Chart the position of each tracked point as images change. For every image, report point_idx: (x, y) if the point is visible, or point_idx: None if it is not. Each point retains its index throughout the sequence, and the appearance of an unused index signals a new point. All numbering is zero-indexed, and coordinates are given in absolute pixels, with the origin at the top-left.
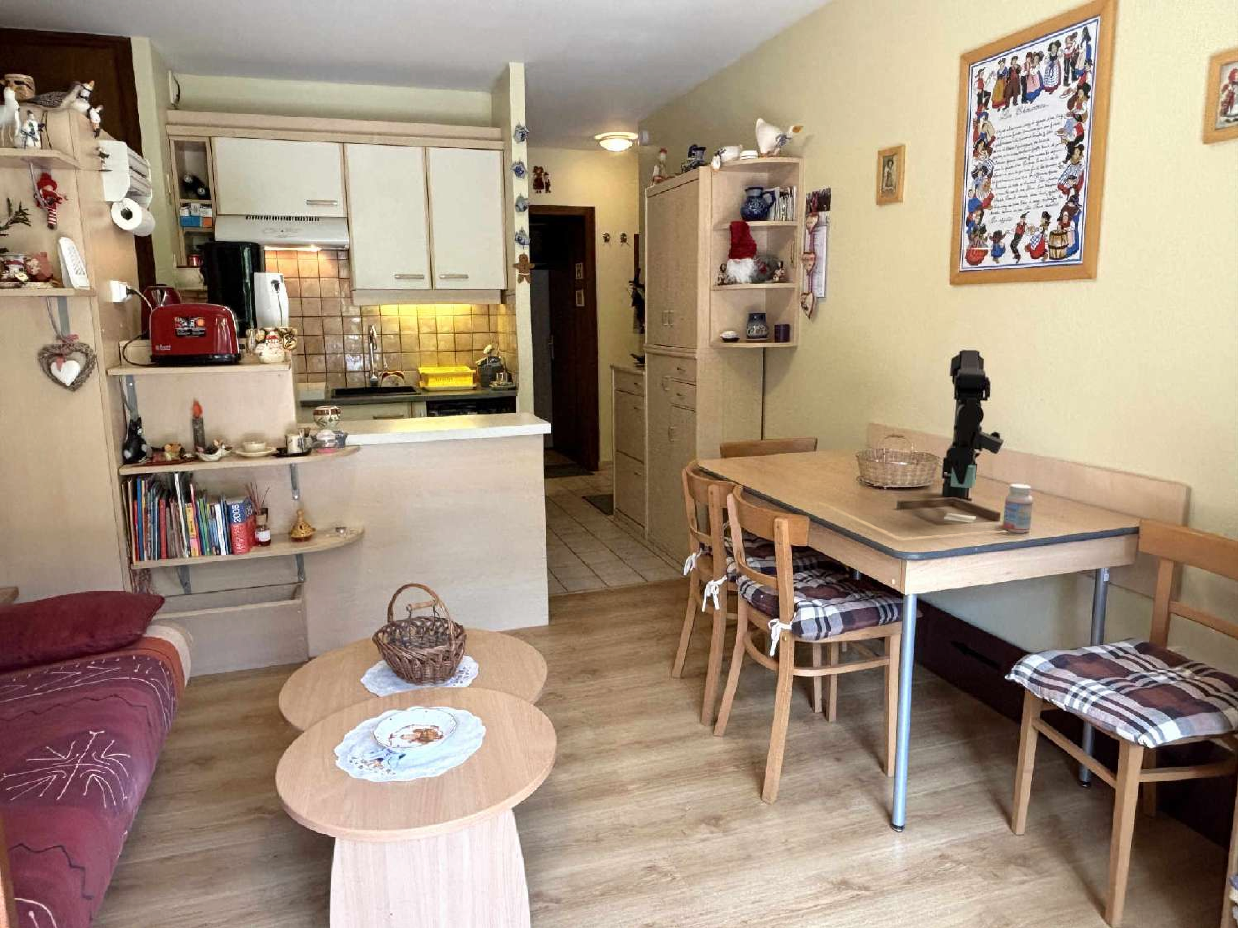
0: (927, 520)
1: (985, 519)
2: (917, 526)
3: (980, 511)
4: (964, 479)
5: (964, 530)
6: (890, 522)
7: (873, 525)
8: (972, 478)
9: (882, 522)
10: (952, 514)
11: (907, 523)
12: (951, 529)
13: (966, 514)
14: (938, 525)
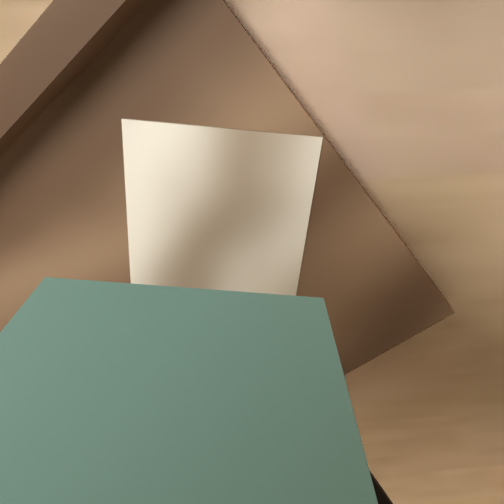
0: (354, 360)
1: (166, 46)
2: (426, 377)
3: (47, 98)
4: (371, 474)
5: (453, 171)
6: (384, 460)
7: (456, 495)
8: (352, 410)
9: (394, 479)
10: (149, 263)
11: (379, 412)
12: (447, 239)
13: (83, 185)
14: (451, 309)
